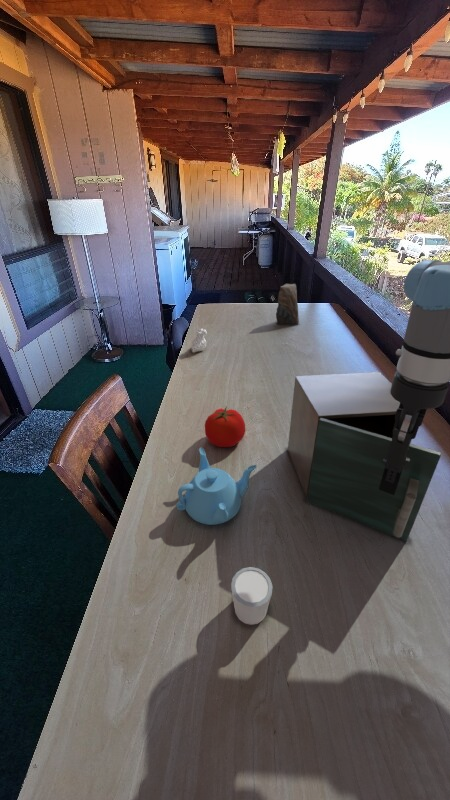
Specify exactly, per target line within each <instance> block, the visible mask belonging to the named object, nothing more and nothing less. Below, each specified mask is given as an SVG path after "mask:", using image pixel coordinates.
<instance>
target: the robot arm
mask: <svg viewBox="0 0 450 800" xmlns="http://www.w3.org/2000/svg"><path fill="white" fill-rule="evenodd" d="M403 283H404V285H403V292H404V294H405V296H406V297H407V299H409V300H410V301H412V303H411V308H410V311H409V312H410V313H409V316H408V320H407V324H406V328H405V333H404V336H403V342H402V345H401V349H400V348H398V349H397V350H396V351H395V355H396V356H398V361H397V365H396V371H395V372H394V374H393V378H392V382H391V383H392V386H391V390H390V393H391V395H392V397H393V398H394V399H395V400H397V401H399V402H400V405H399V408H397V411H396V414H395V424H394V428H393V436H392V441H391V445H390V449H389V453H388V457H387V459H385V458H384V459H383V461H382V463H383V464H385V469H384V473H383V476H382V479H381V483H380V486H379V490H381V491H384V492H386V493H389V494H392V495H394V494H395V492H396V489H397V485H398V482H399V479H400V476H401V473H402V470H403V467H404V462H406V463H409V461H410V458H408V457H406V455H407V453H408V452H409V446H410V444H412V440H414V439H416V437H417V434H418V431H419V428H420V427H421V426H422V424H423V422H424V420H425V419H424V418H425V416H426V412H427V410H432V409H436V408H439V407H440V406H442V405H443V404H444V402H445V399H446V396H447V394H448V391H449V388H450V260H448V261H442V260H439V259H434V260H433V259H425V260H422V261H419V262H418V263H416V264H415V265H413V266H412V267H411V268H410V270H409V271H408V272H407V274H406V276H405V279H404V282H403Z"/></svg>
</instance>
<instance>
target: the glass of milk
mask: <svg viewBox="0 0 450 800" xmlns="http://www.w3.org/2000/svg"><path fill="white" fill-rule="evenodd" d="M230 587H231V588H230V589H231V594H232V601H233V607H234V613H235V615H236V616H237V619H238V620H239V621H241V622H242V623H243V624H246V625H250V626H252V625H257V624H260V623H261V622H262V621H263V620H264V619H265V617H266V615H267V614H268V609H269V607H270V606H269V605H270V602H271V598H272V594H273V584H272V580H271V578H270V577H269V575H268V574H267V572H265V571H264V570H262V569H260V568H259V567H254V566H248V567H242V568H241V569H240V570H238V571H237V572H235V574H234V575H233V577H232V580H231V584H230Z"/></svg>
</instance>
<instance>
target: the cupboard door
mask: <svg viewBox="0 0 450 800" xmlns="http://www.w3.org/2000/svg"><path fill="white" fill-rule="evenodd" d="M391 441H392V438H389V437H386V436H382V435H379V434H375V433H372V432H368V431H365V430H361V429H358V428H355V427H351V426H348V425H344V424H341V423H337V422H334V421H330V420H327V419H324V418H320V420H319V425H318V432H317V438H316V444H315V451H314V457H313V463H312V470H311V476H310V483H309V489H308V495H307V497H306V502H308V503H310V504H313V505H315V506H318V507H320V508H322V509H325V510H327V511H330V512H333V513H335V514H338V515H340V516H342V517H345V518H347V519H350V520H351V521H355V522H357V523H359V524H363V525H365V526H367V527H369V528H372V529H374V530H377V531H379V532H381V533H384V534H386V535H389V536H391V537H394V538H395V539H398V540H401V541H404V542H408V539H409V537H410V534H411V532H412V529H413V526H414V524H415V522H416V520H417V516H418V515H419V512H420V509H421V507H422V505H423V501H424V499H425V497H426V494H427V492H428V489H429V487H430V484H431V481H432V479H433V476H434V474H435V473H436V472H435V471H436V469H437V467H438V464H439V462H440V459H441V456H442V452H440V451H437V450H433V449H430V448H427V447H423V446H420V445H416V444H413V443H410V446H409V452H408V453H407V455H406V457H408V458H410V461H409V463H406V462H404V467H403V470H402V473H401V476H400V479H399V482H398V485H397V489H396V492H395V494H394V495H392V494H389V493H386V492H384V491H381V490H379V486H380V483H381V479H382V476H383V473H384V469H385V464H383V463H382V461H383V459H384V458H385V459H387V457H388V453H389V449H390V445H391Z"/></svg>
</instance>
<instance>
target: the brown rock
mask: <svg viewBox="0 0 450 800" xmlns="http://www.w3.org/2000/svg"><path fill="white" fill-rule="evenodd" d="M297 289H298V287H297V284H296V283H284V284H283V285H280V287H279V291H278V295H277V308H276V313H275V318H276V322H277V325H278V326H288V325H290V326H291V325H293V326H294V325H299V323H300V317H299V305H298V304H299V303H298V290H297Z"/></svg>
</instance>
